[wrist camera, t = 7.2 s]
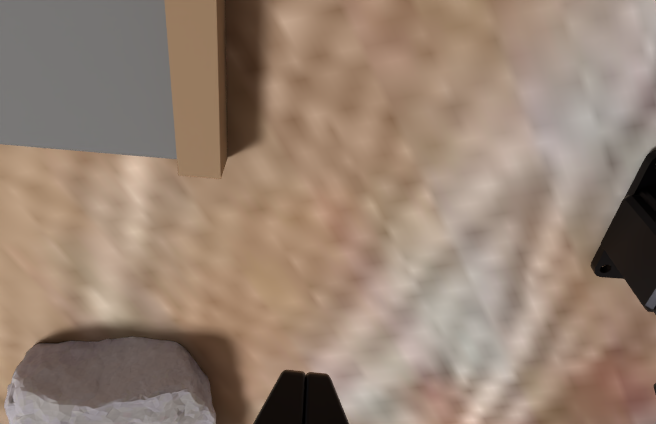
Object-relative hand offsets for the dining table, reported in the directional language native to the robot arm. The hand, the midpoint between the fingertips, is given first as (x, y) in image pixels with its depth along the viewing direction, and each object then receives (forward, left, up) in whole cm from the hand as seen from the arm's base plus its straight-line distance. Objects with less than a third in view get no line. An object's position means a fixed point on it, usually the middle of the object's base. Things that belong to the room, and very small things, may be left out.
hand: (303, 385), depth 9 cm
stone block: (+9, +20, -13) cm, 26 cm away
